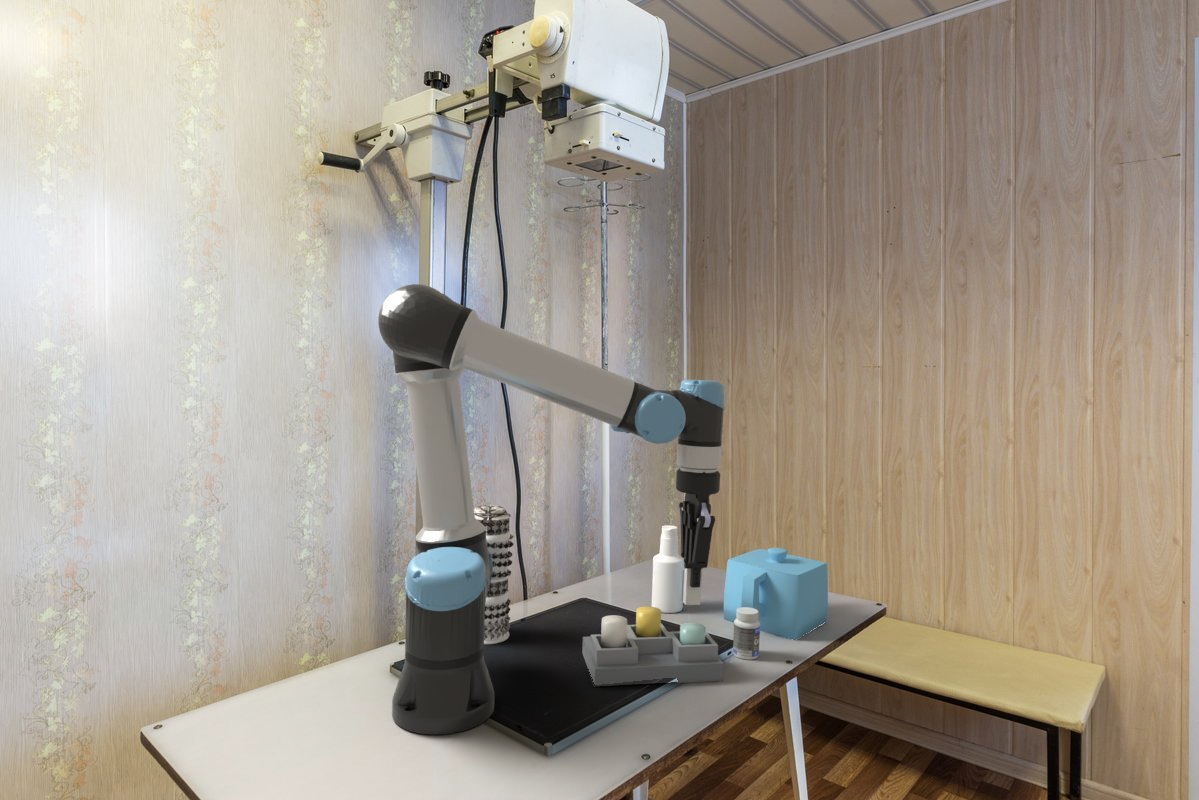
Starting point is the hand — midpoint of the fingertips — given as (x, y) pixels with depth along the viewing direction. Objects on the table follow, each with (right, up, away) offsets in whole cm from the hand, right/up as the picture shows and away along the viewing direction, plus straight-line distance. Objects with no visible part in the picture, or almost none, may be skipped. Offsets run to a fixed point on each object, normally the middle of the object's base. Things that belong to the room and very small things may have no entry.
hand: (691, 603), depth 125 cm
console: (-7, -12, +1) cm, 14 cm away
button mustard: (-7, -6, +3) cm, 10 cm away
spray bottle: (-1, -10, +32) cm, 34 cm away
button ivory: (-14, -6, -2) cm, 15 cm away
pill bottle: (+11, -12, +8) cm, 18 cm away
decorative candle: (-38, -10, +13) cm, 41 cm away
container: (+21, -11, +27) cm, 36 cm away
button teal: (0, -8, 0) cm, 8 cm away
